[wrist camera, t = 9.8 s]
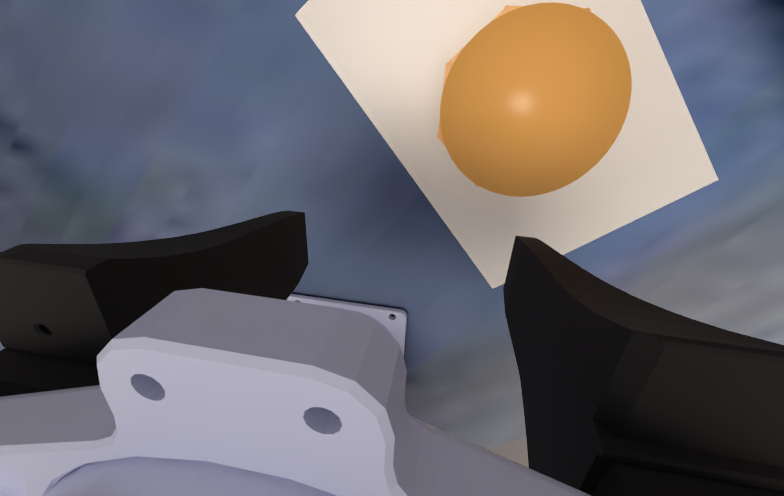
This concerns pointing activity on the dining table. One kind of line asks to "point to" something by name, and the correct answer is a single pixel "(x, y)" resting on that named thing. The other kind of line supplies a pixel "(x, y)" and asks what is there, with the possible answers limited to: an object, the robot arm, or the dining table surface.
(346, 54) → the plate
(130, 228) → the dining table surface
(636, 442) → the robot arm
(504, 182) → the cap
